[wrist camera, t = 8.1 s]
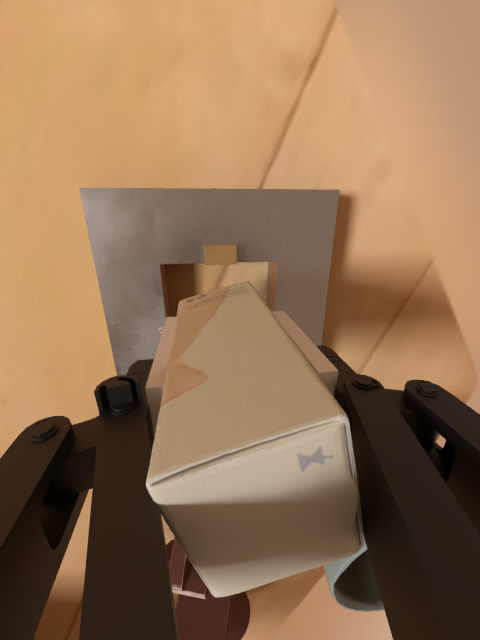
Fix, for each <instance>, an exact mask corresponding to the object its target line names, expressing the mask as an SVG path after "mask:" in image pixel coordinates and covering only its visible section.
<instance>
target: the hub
mask: <svg viewBox="0 0 480 640" xmlns="http://www.w3.org/2000/svg"><path fill="white" fill-rule="evenodd" d="M79 189H80V194H81V199H82V204H83V209H84V214H85V219H86V224H87V228H88V233H89V238H90V243H91V248H92V253H93V258H94V263H95V268H96V273H97V278H98V283H99V288H100V293H101V298H102V303H103V308H104V312H105V317H106V322H107V327H108V332H109V337H110V342H111V347H112V352H113V357H114V362H115V367H116V372H117V376H120V375H127V372H128V370H129V367H130V366H131V365H132V364H134V363H135V362H136V361H137V360H147V359H154V358H155V354H156V351H157V348H158V345H159V341H160V338H161V335H162V331H163V328H164V325H165V322H166V318H167V317H170V309H169V300H168V290H167V281H166V272H165V264H189V263H206V265H223V264H237V262H257V261H269V265H268V295H267V306H268V307H269V309H270V310H271V311H285V313H286V314H287V315H288V316H289V317H290V318H291V319H292V320H293V321H294V322H295V324H296V325H297V326H298V327H299V328H300V329H301V330H302V331H303V332H304V333H305V335H306V336H307V337H308V338H309V339H310V340H311V341H312V342H313V343H314V344H315V346H321V345H322V336H323V328H324V319H325V311H326V302H327V294H328V286H329V277H330V269H331V260H332V252H333V243H334V235H335V226H336V218H337V209H338V201H339V192H340V190H292V189H164V188H79Z"/></svg>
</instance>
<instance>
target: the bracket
mask: <svg viewBox="0 0 480 640" xmlns="http://www.w3.org/2000/svg"><path fill="white" fill-rule="evenodd" d="M166 550H167V557H168V564H169V571H170V577H171V584H172V591H173V593H177V594H179V596H178V600H177V604H176V609H175V611H176V618H177V625H178V631H179V638H180V640H241V638H242V637H243V636H244V634H245V632H246V630H247V627H248V624H249V619H250V604H249V600H248V597H247V594H246V592H245V591H244V592H241V593H237V594H234V595H230V596H225V597H217V598H216V597H214V596H213V595H212V594H211V592H210V590H209V589H208V587H207V586H206V584H205V583H204V581H203V580H202V578H201V577H200V575H199V574H198V572H197V571H196V569H195V568H194V566H193V565H192V563H191V562H190V560H189V559H188V557H187V555H186V554H185V552H184V551H183V550H182V548H181V546H180V545H179V543H178V541H177V540H176V538H174V539H173V540H171V541H170V542H169V543H168V544H167V545H166Z"/></svg>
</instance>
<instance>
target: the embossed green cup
mask: <svg viewBox="0 0 480 640" xmlns="http://www.w3.org/2000/svg"><path fill="white" fill-rule="evenodd" d="M363 537H364V535H363ZM323 566H324V570H325V574H326V577H327V581H328V585H329V588H330V592H331V594H332V596H333V598H334V599H335V601H336V602H337V603H338V604H339V605H341V606H343V607H344V608H346V609H349V610H354V611H364V612H370V611H379V610H385V609H384V605H383V602H382V598H381V595H380V591H379V588H378V584H377V581H376V577H375V574H374V570H373V567H372V563H371V560H370V556H369V553H368V549H367V546H366V542H365V539H364V546H363V547H362V549H361V550H360V551H359V552H357V553H356V554H355V555H353V556H350V557H347V558H344V559H341V560H338V561H336V562H333V563H330V564H326V565H323Z"/></svg>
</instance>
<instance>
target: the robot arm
mask: <svg viewBox="0 0 480 640" xmlns="http://www.w3.org/2000/svg"><path fill="white" fill-rule="evenodd" d="M271 312H272V313H273V314H274V316H275V317H276V318H277V320H278V321H279V322H280V324H281V325H282V327H283V328H284V329H285V330H286V332H287V333H288V335H289V336H290V337H291V339H292V340H293V342H294V343H295V344H296V346H297V347H298V348H299V350H300V351H301V352H302V354H303V355H304V357H305V358H306V359H307V361H308V362H309V363H310V365H311V366H312V368H313V369H314V371H315V372H316V373H317V374H318V376H319V377H320V379H321V380H322V381H323V383H324V384H325V386H326V387H327V388H328V390H329V391H330V393H331V394H332V395H333V397H334V398H335V399H336V401H337V402H338V404H339V405H340V406H341V408H342V409H343V410H344V412H345V413H346V414H347V417H348V419H349V425H350V432H351V437H352V444H353V452H354V458H355V465H356V473H357V480H358V487H359V496H360V505H361V514H362V525H363V535H364V539H365V542H366V546H367V549H368V553H369V556H370V560H371V563H372V567H373V570H374V574H375V577H376V581H377V584H378V588H379V591H380V595H381V598H382V602H383V605H384V609H385V612H386V616H387V619H388V623H389V626H390V630H391V633H392V637H393V640H480V414H478V413H477V412H475V411H474V410H473V409H471V408H470V407H468V406H467V405H466V404H464V403H463V402H462V401H460V400H459V399H457V398H456V397H455V396H453V395H452V394H450V393H449V392H448V391H446V390H445V389H443V388H442V387H440V386H438V385H436V384H433V383H431V382H429V381H425V380H411V381H408V382H407V383H406V384H405V388H404V391H401V390H392V389H384V387H383V386H382V384H381V383H380V382H379V381H377V380H375V379H374V378H372V377H369V376H366V375H360V374H356V373H355V372H354V371H353V370H352V369H351V368H350V367H349V366H348V365H347V364H346V363H345V362H344V361H343V360H342V359H341V358H340V357H338V355H337V354H336V353H335V352H334V351H333V350H332V349H330V348H328V347H326V346H324V345H323V346H315V344H314V343H313V342H312V341H311V340H310V339H309V338H308V337H307V336H306V335H305V333H304V332H303V331H302V330H301V329H300V328H299V327H298V326H297V325H296V324H295V322H294V321H293V320H292V319H291V318H290V317H289V316H288V315H287V314H286V313H285V311H271ZM175 323H176V317H167V318H166V322H165V325H164V328H163V331H162V335H161V338H160V341H159V345H158V348H157V351H156V354H155V358H154V359H147V360H137V361H136V362H135V363H134V364H132V365H131V366H130V367H129V370H128V372H127V375H120V376H115V377H112V378H109V379H107V380H105V381H103V382H102V383H100V384H99V385H98V386H97V387H96V389H95V391H94V393H95V397H96V401H97V405H98V409H99V413H100V414H99V416H98V417H96V418H93V419H91V420H88V421H85V422H81V423H78V424H75V425H71V422H70V420H69V418H67V417H64V416H53V417H48V418H45V419H42V420H39V421H37V422H35V423H34V424H32V425H30V426H29V427H27V428H26V429H25V430H24V431H23V432H22V433H21V434H19V436H18V437H17V438H16V439H15V441H14V442H13V443H12V445H11V446H10V447H9V448H8V450H7V451H6V452H5V453H4V455H3V456H2V457H1V458H0V640H32V639H33V637H34V634H35V631H36V629H37V626H38V624H39V621H40V618H41V616H42V613H43V610H44V608H45V605H46V602H47V600H48V597H49V594H50V592H51V589H52V586H53V584H54V581H55V578H56V576H57V573H58V570H59V568H60V565H61V563H62V560H63V557H64V555H65V552H66V549H67V547H68V544H69V541H70V539H71V536H72V533H73V531H74V528H75V525H76V523H77V520H78V517H79V515H80V512H81V509H82V507H83V504H84V502H85V499H86V496H87V494H88V490H89V489H91V488H93V492H92V503H91V514H90V525H89V537H88V548H87V559H86V570H85V581H84V593H83V604H82V615H81V626H80V637H79V640H180V638H179V631H178V625H177V618H176V611H175V604H174V598H173V591H172V584H171V577H170V571H169V564H168V557H167V550H166V544H165V537H164V530H163V523H162V517H161V513H160V511H159V507H158V503H156V502H154V501H153V499H152V497H151V495H150V494H149V491H148V489H147V487H146V479H147V475H148V470H149V465H150V459H151V454H152V448H153V443H154V439H155V434H156V427H157V422H158V416H159V412H160V407H161V400H162V395H163V390H164V384H165V378H166V372H167V367H168V361H169V356H170V350H171V344H172V339H173V334H174V328H175ZM438 433H439V434H440V435H441V436H442V437H444V438H445V439H446V443H445V446H444V447H443V448H442V447H440V446H439V445H438V444H437V443H436V442H435V441H436V438H437V435H438Z"/></svg>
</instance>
